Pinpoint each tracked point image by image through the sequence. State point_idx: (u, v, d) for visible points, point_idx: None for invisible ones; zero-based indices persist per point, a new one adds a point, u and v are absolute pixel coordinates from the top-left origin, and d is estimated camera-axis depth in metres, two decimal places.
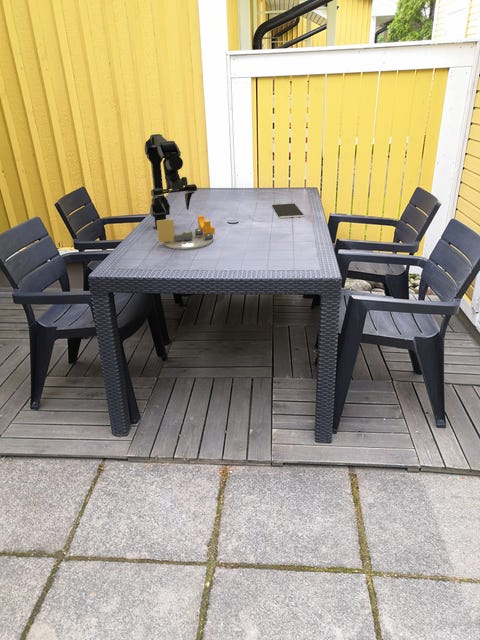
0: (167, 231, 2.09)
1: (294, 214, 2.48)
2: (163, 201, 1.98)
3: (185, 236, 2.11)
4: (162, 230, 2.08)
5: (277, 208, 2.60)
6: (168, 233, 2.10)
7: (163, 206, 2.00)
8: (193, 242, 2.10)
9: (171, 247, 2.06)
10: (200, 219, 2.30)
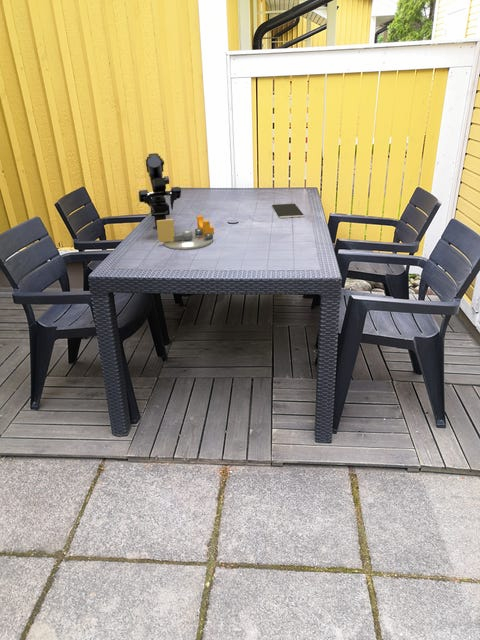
0: (167, 231, 2.09)
1: (294, 214, 2.48)
2: (150, 201, 2.12)
3: (185, 236, 2.11)
4: (162, 230, 2.08)
5: (277, 208, 2.60)
6: (168, 233, 2.10)
7: (151, 206, 2.13)
8: (193, 242, 2.10)
9: (171, 247, 2.06)
10: (199, 219, 2.30)
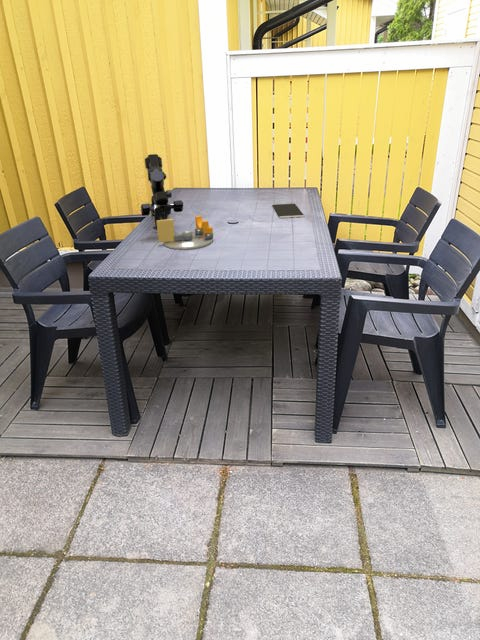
0: (167, 231, 2.09)
1: (294, 214, 2.48)
2: (161, 213, 2.13)
3: (185, 236, 2.11)
4: (162, 230, 2.08)
5: (277, 208, 2.60)
6: (168, 233, 2.10)
7: (161, 219, 2.14)
8: (193, 242, 2.10)
9: (171, 247, 2.06)
10: (198, 219, 2.30)
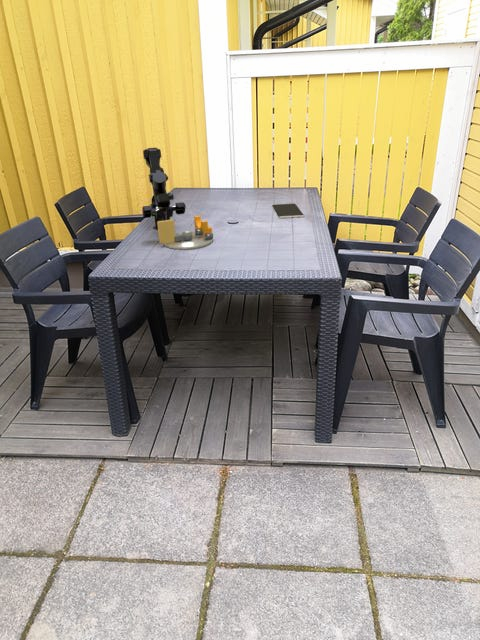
0: (168, 232, 2.08)
1: (294, 214, 2.48)
2: (163, 216, 2.08)
3: (186, 236, 2.11)
4: (163, 231, 2.07)
5: (277, 208, 2.60)
6: (169, 234, 2.09)
7: None
8: (193, 242, 2.10)
9: (171, 247, 2.06)
10: (197, 219, 2.29)
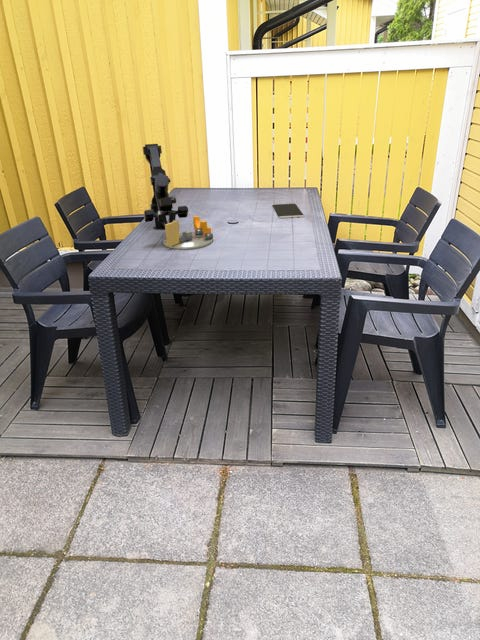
0: (174, 234, 2.05)
1: (294, 214, 2.48)
2: (165, 220, 2.04)
3: (188, 236, 2.11)
4: (171, 233, 2.03)
5: (277, 208, 2.60)
6: (175, 236, 2.06)
7: None
8: (193, 242, 2.10)
9: (171, 247, 2.06)
10: (196, 220, 2.29)
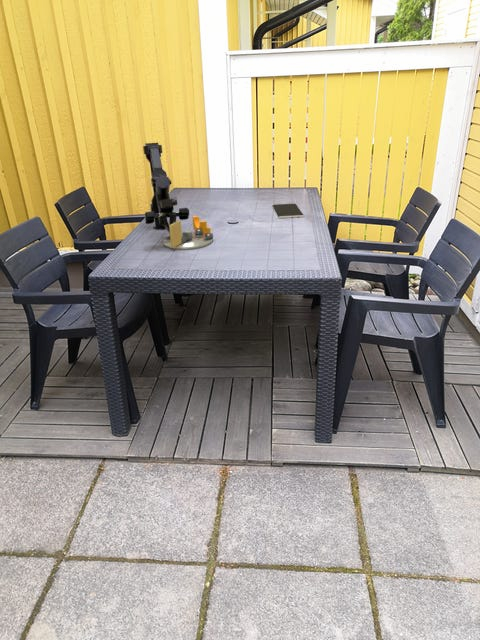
0: (177, 234, 2.05)
1: (294, 214, 2.48)
2: (166, 222, 2.02)
3: (189, 236, 2.11)
4: (175, 234, 2.03)
5: (277, 208, 2.60)
6: (178, 236, 2.05)
7: (166, 228, 2.03)
8: (193, 242, 2.10)
9: (171, 247, 2.06)
10: (195, 220, 2.29)
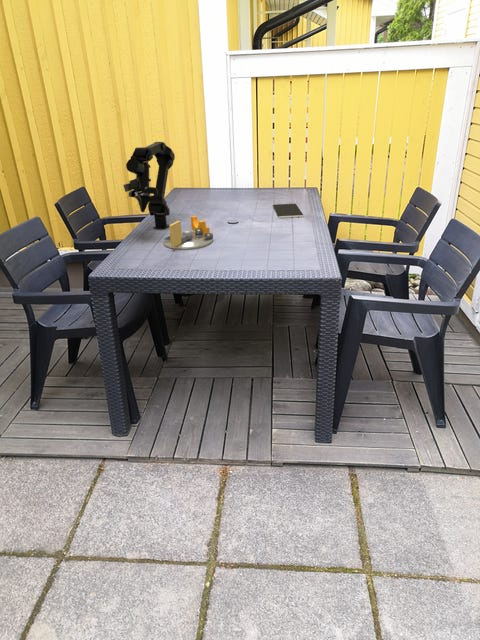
0: (177, 234, 2.05)
1: (293, 214, 2.48)
2: (138, 201, 2.15)
3: (189, 236, 2.11)
4: (175, 234, 2.03)
5: (277, 208, 2.60)
6: (178, 236, 2.05)
7: None
8: (193, 242, 2.10)
9: (171, 247, 2.06)
10: (193, 220, 2.29)
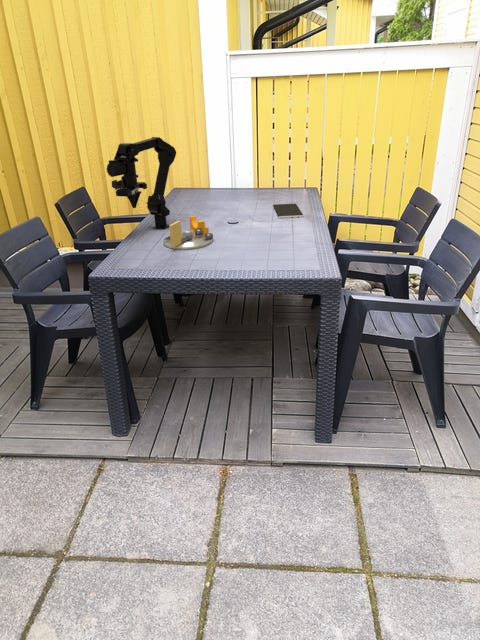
0: (177, 234, 2.05)
1: (293, 214, 2.48)
2: None
3: (189, 236, 2.11)
4: (175, 234, 2.03)
5: (277, 208, 2.60)
6: (178, 236, 2.05)
7: None
8: (193, 242, 2.10)
9: (171, 247, 2.06)
10: (192, 220, 2.29)
